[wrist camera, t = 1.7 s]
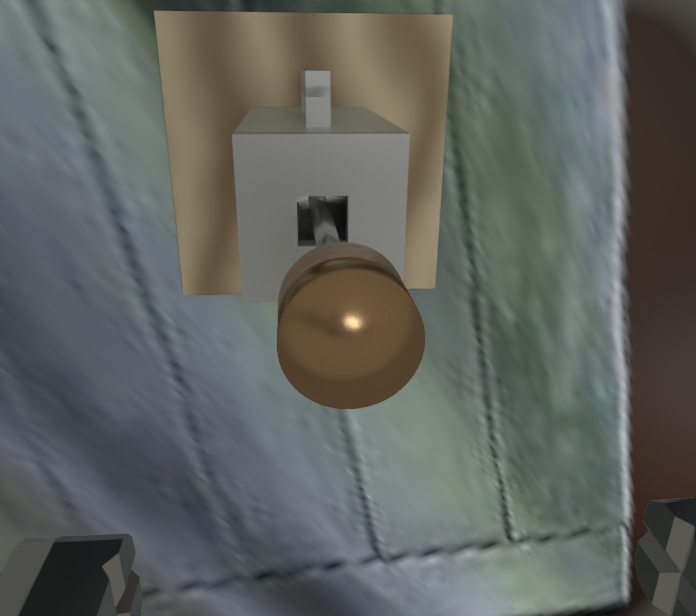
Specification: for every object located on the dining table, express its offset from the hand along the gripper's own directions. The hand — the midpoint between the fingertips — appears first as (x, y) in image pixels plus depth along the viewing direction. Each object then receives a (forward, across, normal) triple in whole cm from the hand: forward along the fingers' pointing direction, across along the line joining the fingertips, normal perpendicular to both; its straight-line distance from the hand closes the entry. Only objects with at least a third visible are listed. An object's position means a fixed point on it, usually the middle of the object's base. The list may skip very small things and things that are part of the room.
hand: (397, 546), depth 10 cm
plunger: (+28, 0, 0) cm, 28 cm away
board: (+39, 0, 0) cm, 39 cm away
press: (+38, 0, -1) cm, 38 cm away
